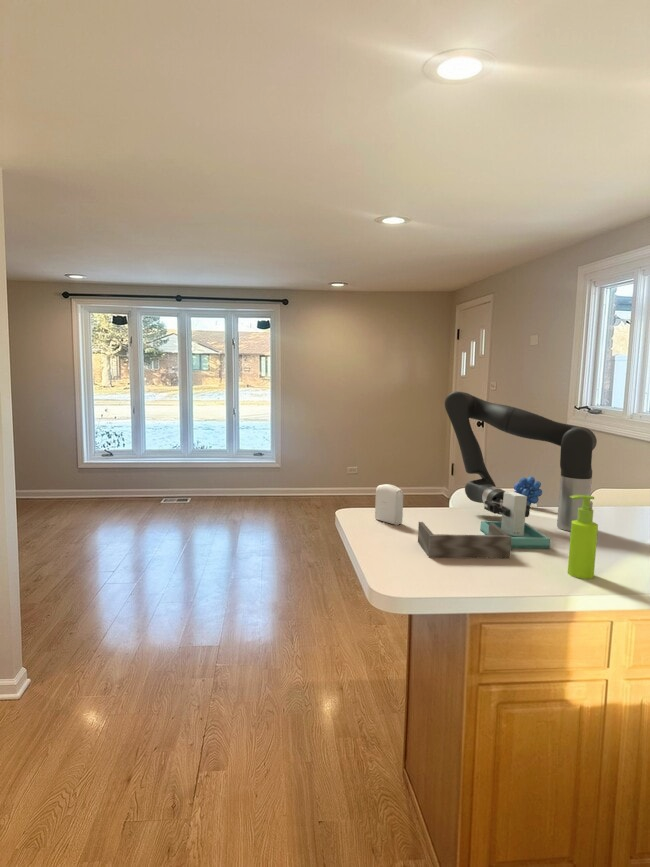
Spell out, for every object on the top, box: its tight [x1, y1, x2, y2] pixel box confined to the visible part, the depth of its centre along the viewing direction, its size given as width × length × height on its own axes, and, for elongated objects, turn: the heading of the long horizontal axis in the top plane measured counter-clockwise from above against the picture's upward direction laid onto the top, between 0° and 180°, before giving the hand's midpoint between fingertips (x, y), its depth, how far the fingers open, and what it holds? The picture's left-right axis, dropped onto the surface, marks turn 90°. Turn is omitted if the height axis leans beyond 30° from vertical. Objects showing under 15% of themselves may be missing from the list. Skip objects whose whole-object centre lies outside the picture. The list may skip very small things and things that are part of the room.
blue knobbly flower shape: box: [513, 476, 543, 506], centre depth 205 cm, size 12×7×12 cm, turn 42°
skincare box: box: [501, 491, 527, 536], centre depth 161 cm, size 6×4×12 cm
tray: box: [479, 520, 551, 550], centre depth 161 cm, size 14×18×3 cm
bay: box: [417, 521, 512, 559], centre depth 149 cm, size 22×14×6 cm, turn 93°
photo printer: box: [374, 483, 404, 526], centre depth 177 cm, size 10×4×12 cm, turn 39°
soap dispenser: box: [567, 495, 599, 580], centre depth 132 cm, size 6×7×20 cm
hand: (518, 513), depth 158 cm, fingers closed on skincare box, 5 cm apart
